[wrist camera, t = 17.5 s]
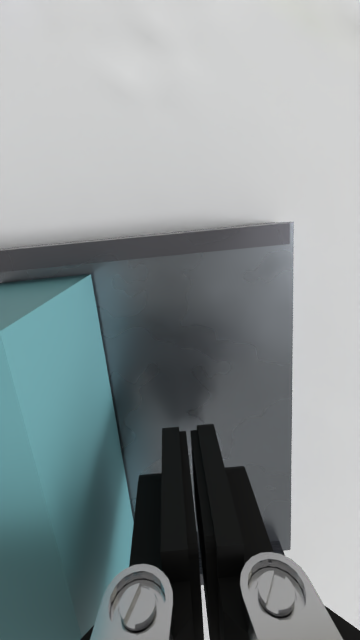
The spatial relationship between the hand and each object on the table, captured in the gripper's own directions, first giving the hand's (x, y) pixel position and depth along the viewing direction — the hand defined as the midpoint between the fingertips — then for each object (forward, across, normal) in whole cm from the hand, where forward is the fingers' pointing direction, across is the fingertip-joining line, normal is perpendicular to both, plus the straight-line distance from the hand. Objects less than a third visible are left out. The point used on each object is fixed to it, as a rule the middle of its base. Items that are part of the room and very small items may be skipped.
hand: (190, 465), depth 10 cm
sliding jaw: (+2, +4, 0) cm, 4 cm away
